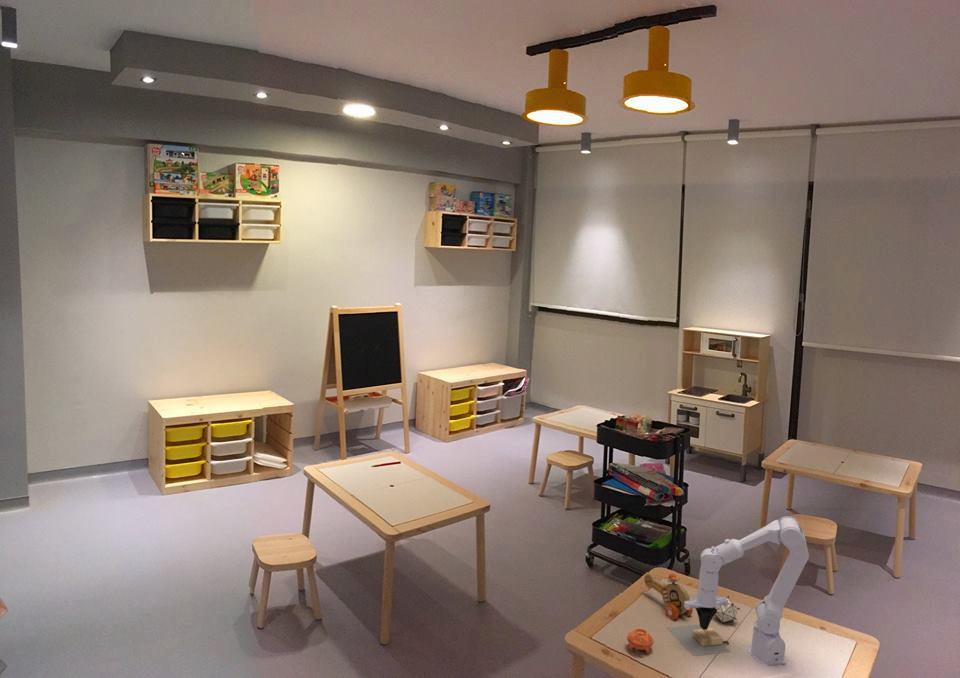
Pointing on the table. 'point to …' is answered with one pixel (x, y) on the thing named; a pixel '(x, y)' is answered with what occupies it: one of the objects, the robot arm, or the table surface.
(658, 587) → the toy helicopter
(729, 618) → the game die
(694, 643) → the rubber mat
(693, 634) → the oak tile
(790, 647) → the table surface
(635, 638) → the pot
